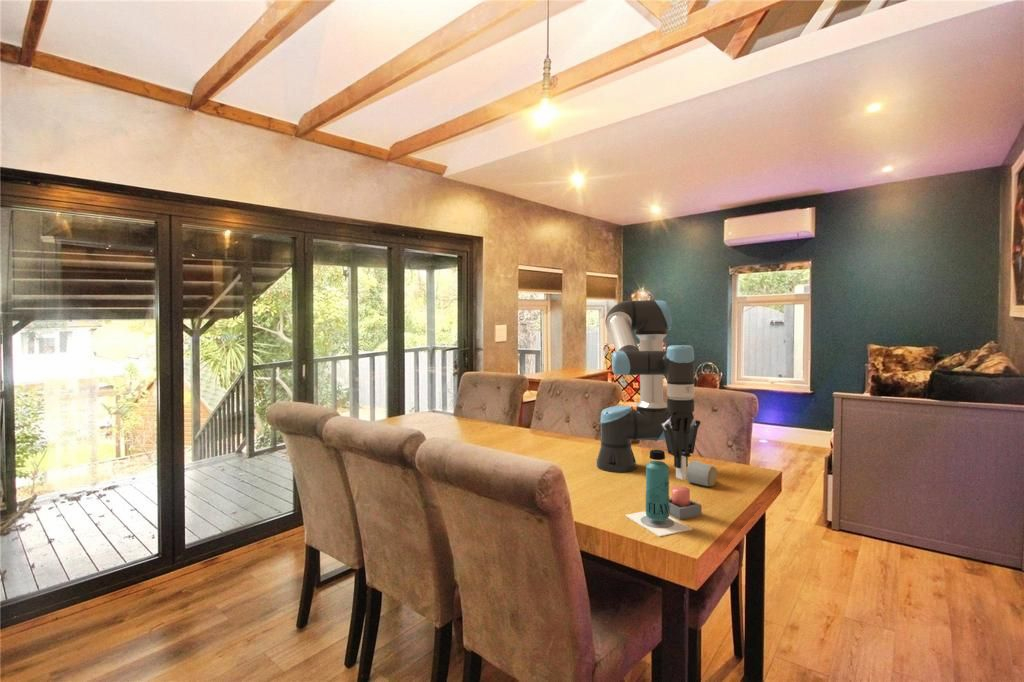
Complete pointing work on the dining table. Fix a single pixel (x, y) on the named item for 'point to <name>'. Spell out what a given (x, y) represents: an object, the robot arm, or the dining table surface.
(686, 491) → the button
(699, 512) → the button base
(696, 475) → the ceramic mug
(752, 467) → the dining table surface
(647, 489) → the beverage bottle
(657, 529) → the paper card
